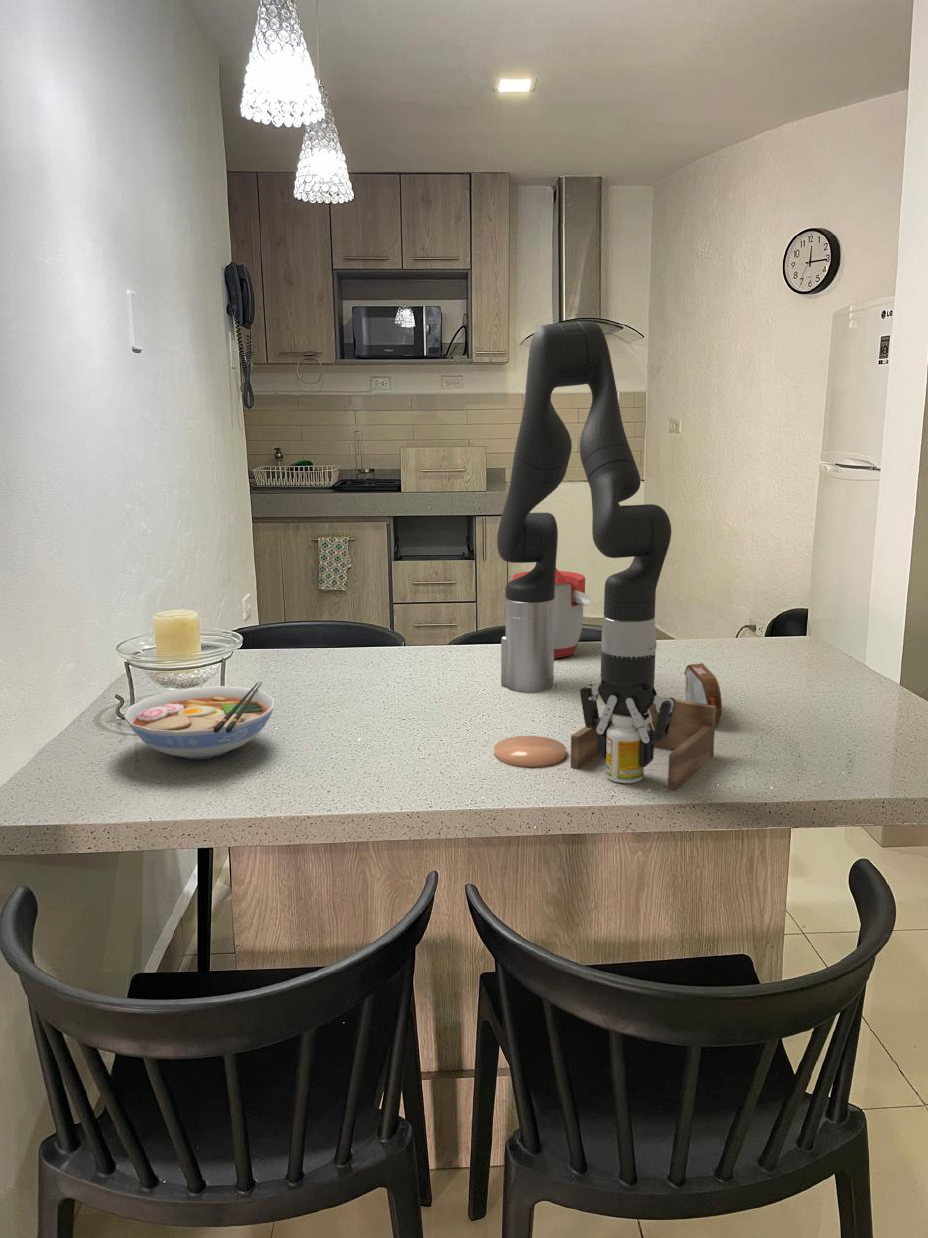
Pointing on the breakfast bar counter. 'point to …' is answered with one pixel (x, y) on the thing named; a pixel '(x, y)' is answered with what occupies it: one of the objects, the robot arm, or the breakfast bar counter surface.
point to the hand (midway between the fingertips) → (624, 760)
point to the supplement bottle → (623, 751)
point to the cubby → (666, 740)
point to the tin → (703, 687)
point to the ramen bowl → (200, 719)
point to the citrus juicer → (567, 610)
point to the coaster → (530, 751)
